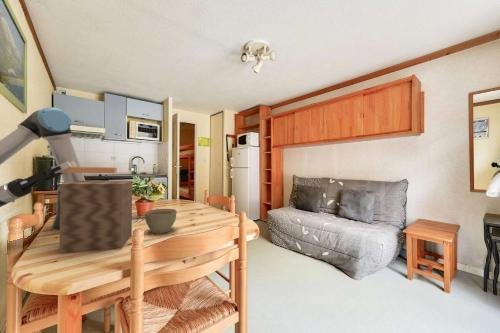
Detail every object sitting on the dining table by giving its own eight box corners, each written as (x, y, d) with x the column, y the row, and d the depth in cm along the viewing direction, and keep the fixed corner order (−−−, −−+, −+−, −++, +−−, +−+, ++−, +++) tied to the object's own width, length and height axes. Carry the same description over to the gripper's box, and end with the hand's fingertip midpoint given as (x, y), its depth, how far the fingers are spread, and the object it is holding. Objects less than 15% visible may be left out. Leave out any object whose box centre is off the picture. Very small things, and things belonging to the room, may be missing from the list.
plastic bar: (51, 172, 93) (51, 166, 93) (56, 172, 97) (56, 166, 97) (113, 173, 100) (113, 167, 100) (116, 172, 104) (116, 167, 104)
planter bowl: (182, 228, 122) (182, 209, 122) (164, 237, 107) (164, 216, 106) (157, 225, 126) (158, 207, 126) (137, 234, 111) (137, 213, 110)
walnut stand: (59, 253, 86) (60, 184, 85) (80, 238, 103) (81, 180, 103) (121, 248, 92) (122, 183, 92) (131, 235, 109) (132, 180, 109)
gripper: (33, 194, 100) (85, 170, 106) (4, 200, 84) (66, 171, 90) (23, 180, 99) (76, 157, 105) (-8, 184, 83) (56, 156, 89)
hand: (71, 163), depth 97 cm, fingers closed on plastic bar, 4 cm apart
